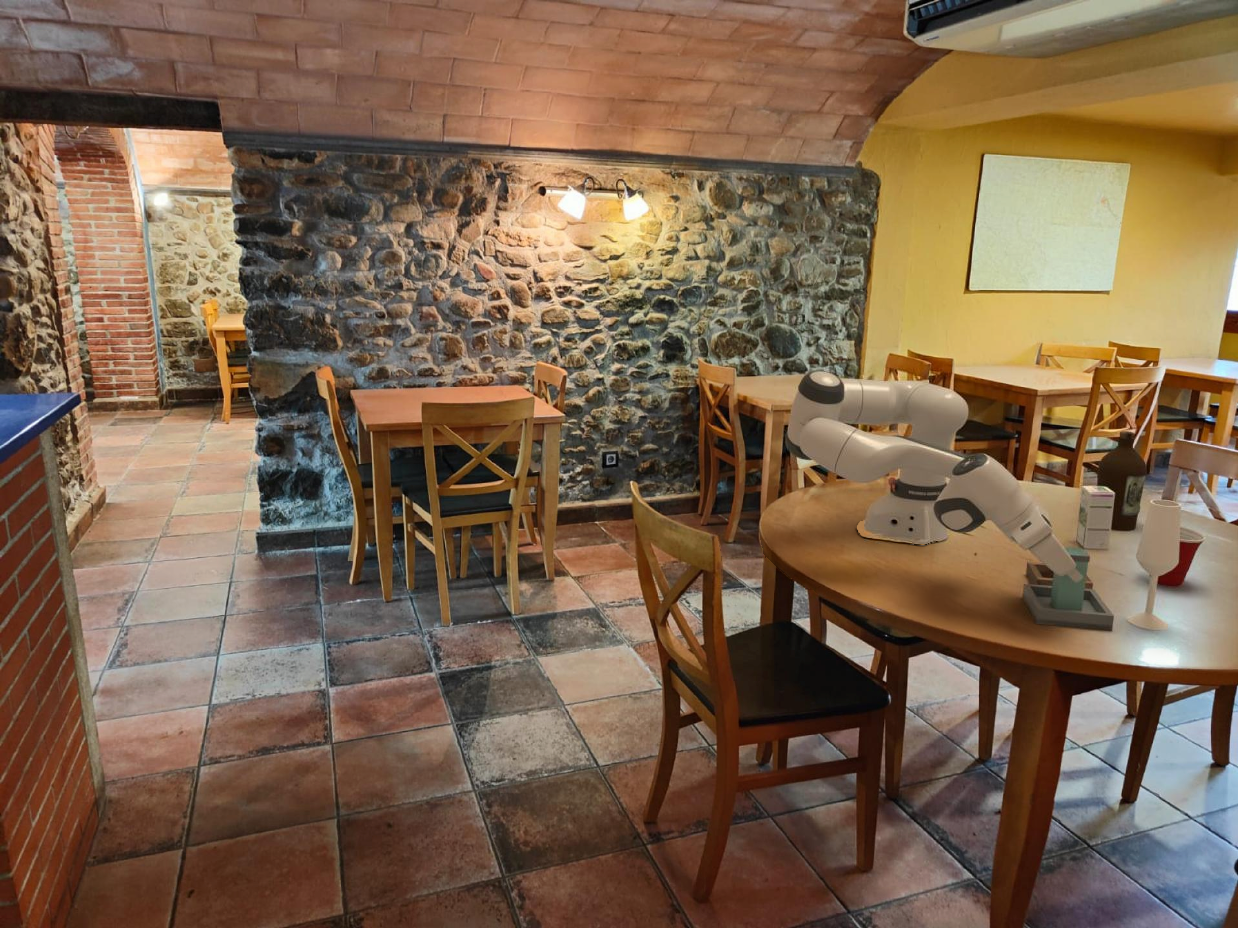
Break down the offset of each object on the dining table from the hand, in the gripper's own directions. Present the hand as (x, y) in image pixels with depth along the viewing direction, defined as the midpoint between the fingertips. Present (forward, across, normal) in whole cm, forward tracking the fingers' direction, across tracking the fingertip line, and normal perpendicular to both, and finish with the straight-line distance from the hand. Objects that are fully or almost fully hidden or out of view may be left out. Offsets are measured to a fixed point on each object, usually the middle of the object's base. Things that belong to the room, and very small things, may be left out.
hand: (1073, 571), depth 155 cm
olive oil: (+24, -62, +12) cm, 68 cm away
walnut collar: (+7, -15, -5) cm, 17 cm away
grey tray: (+6, 0, -7) cm, 9 cm away
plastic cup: (+24, -22, +11) cm, 34 cm away
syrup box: (+17, -44, +4) cm, 47 cm away
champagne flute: (+16, +1, +3) cm, 16 cm away
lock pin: (+5, 0, -6) cm, 8 cm away
